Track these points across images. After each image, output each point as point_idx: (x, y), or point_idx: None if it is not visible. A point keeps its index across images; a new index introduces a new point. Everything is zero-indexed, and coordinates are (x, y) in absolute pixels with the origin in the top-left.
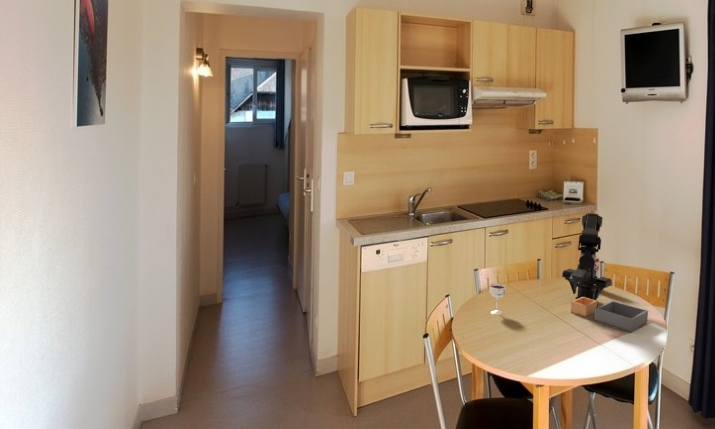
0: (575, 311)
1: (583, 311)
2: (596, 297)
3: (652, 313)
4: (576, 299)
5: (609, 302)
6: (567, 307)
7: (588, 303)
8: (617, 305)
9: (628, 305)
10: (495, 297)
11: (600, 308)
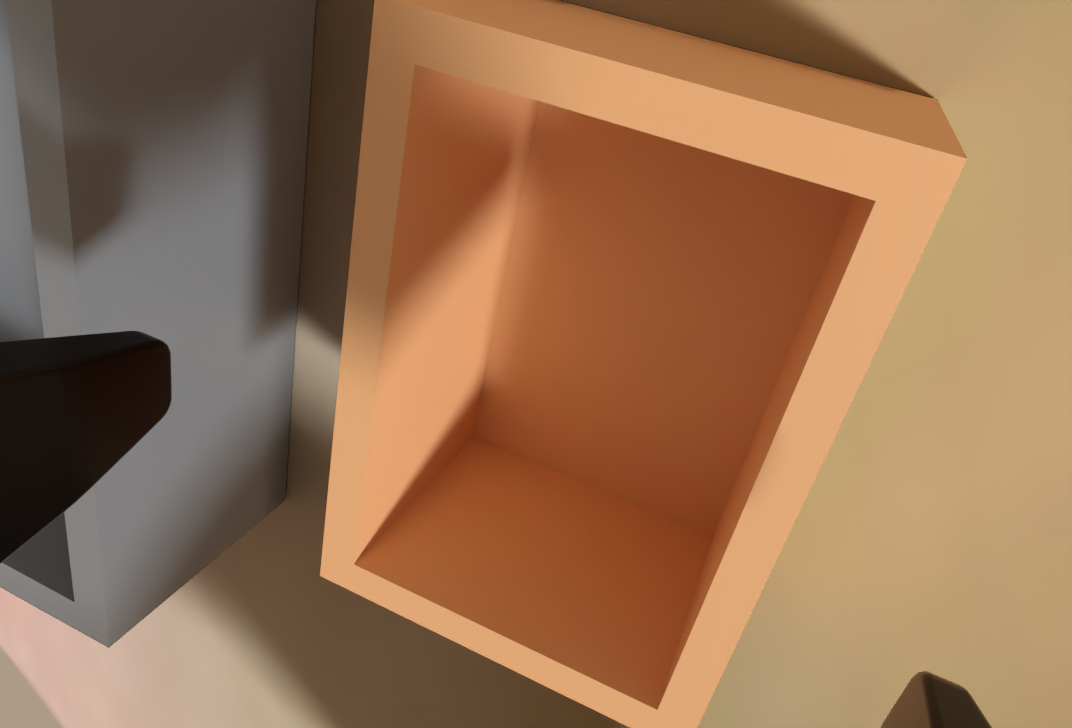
0: (793, 66)
1: (544, 9)
2: (4, 352)
3: (19, 646)
4: (808, 481)
5: (86, 527)
6: (1067, 428)
7: (551, 558)
8: (55, 529)
9: None
10: None
11: (32, 24)
